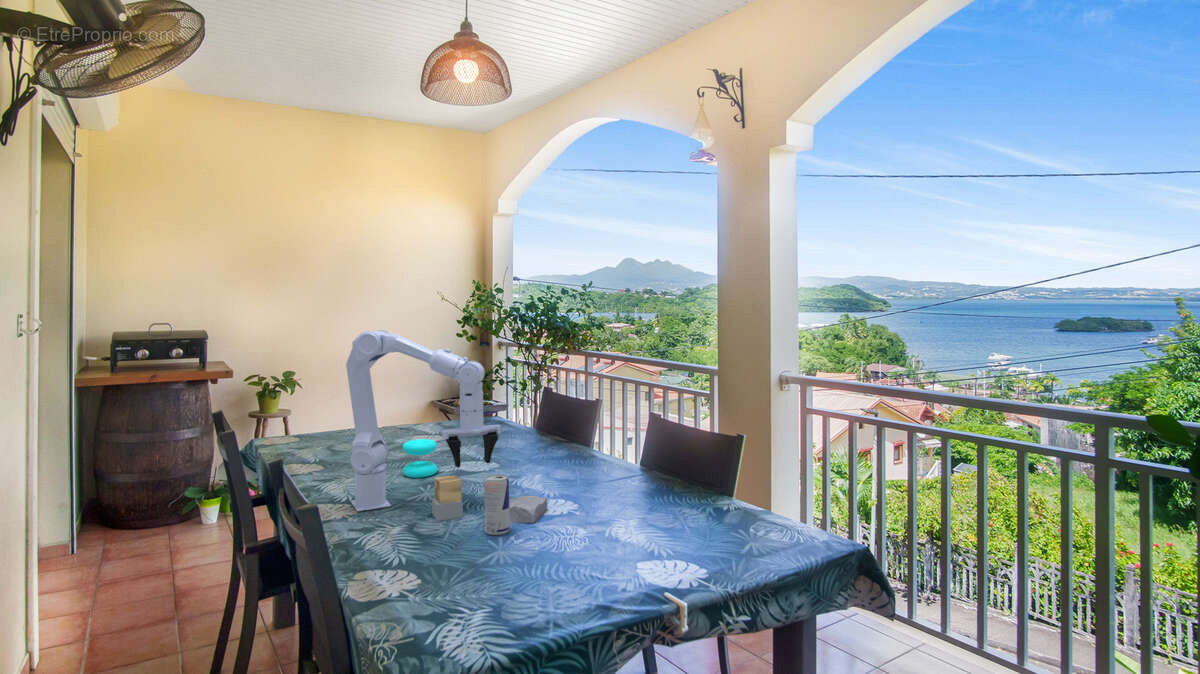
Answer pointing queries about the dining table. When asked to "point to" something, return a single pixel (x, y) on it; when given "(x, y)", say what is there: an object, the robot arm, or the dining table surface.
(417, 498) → the dining table surface
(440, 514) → the grey block
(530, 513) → the stone block
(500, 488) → the energy drink
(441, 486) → the wooden cube
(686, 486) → the dining table surface
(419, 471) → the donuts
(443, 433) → the robot arm
